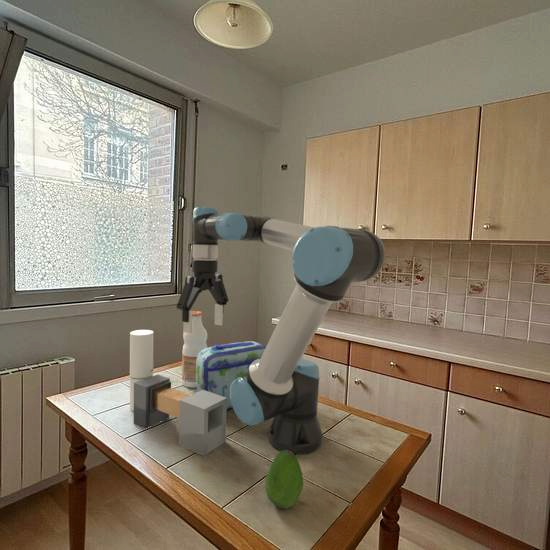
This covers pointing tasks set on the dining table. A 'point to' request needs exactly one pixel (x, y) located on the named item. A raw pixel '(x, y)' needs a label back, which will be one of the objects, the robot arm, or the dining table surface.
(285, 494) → the avocado
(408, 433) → the dining table surface
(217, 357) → the lunch box
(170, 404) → the square peg
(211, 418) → the sleeve
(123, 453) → the dining table surface
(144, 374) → the cylindrical container
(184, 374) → the fruit juice
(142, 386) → the socket
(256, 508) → the dining table surface
